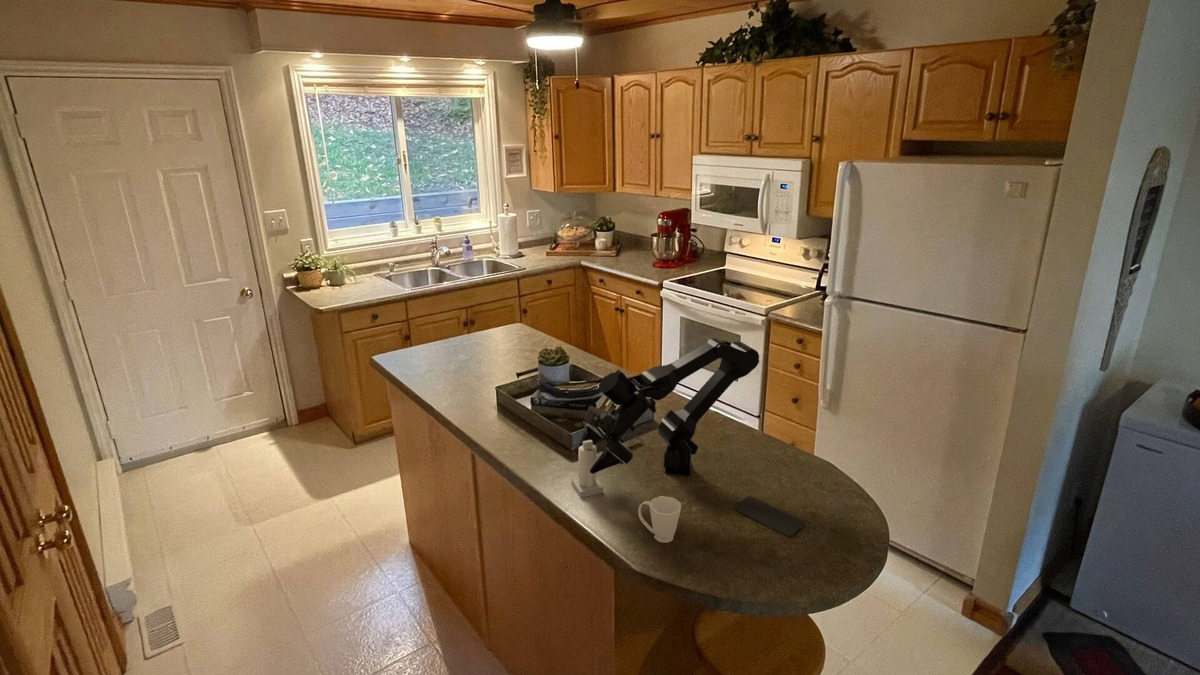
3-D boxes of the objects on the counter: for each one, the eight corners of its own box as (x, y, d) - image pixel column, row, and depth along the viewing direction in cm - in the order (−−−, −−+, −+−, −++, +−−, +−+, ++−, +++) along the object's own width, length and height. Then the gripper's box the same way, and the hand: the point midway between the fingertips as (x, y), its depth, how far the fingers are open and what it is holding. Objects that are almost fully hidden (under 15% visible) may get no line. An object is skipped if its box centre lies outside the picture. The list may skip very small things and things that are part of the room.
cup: (670, 551, 133) (672, 518, 130) (630, 534, 138) (631, 502, 135) (685, 534, 138) (687, 502, 135) (646, 518, 143) (647, 487, 141)
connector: (594, 479, 158) (594, 433, 154) (603, 492, 153) (604, 444, 149) (571, 484, 156) (571, 437, 152) (580, 497, 151) (580, 449, 146)
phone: (790, 537, 137) (731, 507, 147) (789, 540, 137) (731, 510, 147) (806, 522, 142) (749, 494, 152) (806, 525, 142) (748, 497, 152)
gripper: (591, 381, 156) (549, 428, 156) (622, 413, 140) (575, 465, 140) (619, 405, 162) (578, 451, 161) (652, 438, 145) (607, 489, 145)
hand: (583, 463), depth 152 cm, fingers open, 9 cm apart
